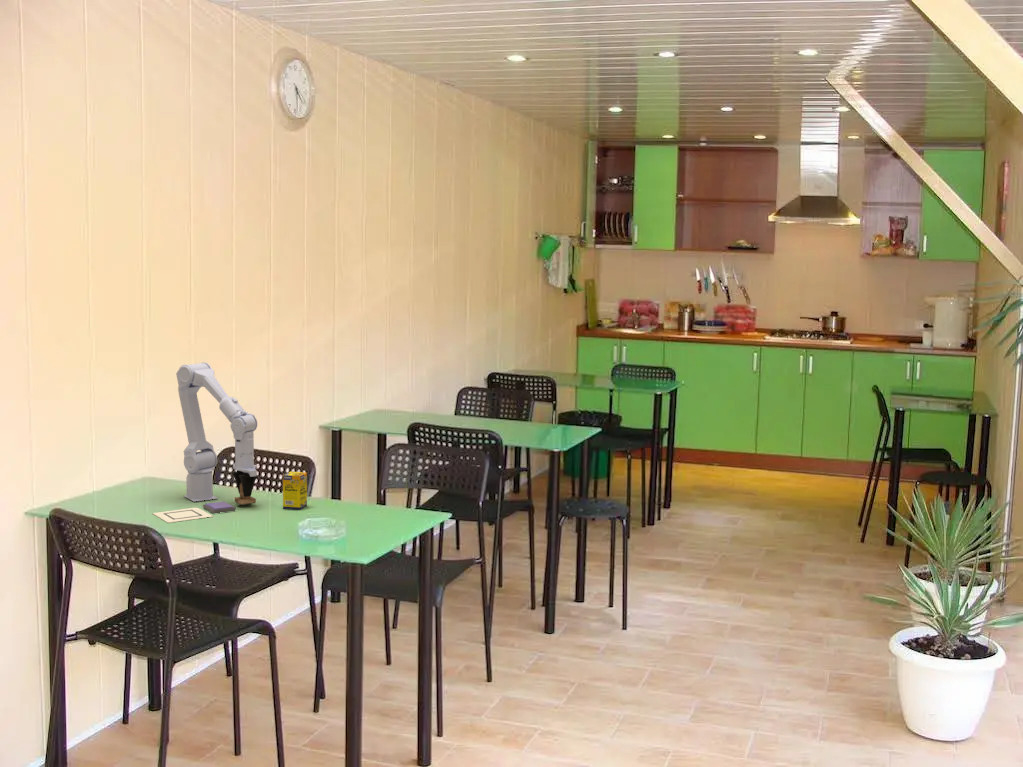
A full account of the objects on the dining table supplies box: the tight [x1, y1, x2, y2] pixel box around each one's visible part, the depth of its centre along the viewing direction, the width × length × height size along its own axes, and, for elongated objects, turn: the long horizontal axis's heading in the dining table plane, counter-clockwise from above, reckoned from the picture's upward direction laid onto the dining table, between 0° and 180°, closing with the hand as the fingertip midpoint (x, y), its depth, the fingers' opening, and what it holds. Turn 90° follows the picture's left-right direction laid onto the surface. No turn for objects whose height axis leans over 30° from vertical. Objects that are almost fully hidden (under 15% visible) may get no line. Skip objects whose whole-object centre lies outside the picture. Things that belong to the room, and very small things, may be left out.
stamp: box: [234, 483, 257, 506], centre depth 361 cm, size 5×5×7 cm
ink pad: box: [202, 500, 237, 514], centre depth 355 cm, size 9×7×2 cm
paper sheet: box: [152, 507, 214, 524], centre depth 348 cm, size 14×14×1 cm
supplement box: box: [282, 471, 308, 511], centre depth 359 cm, size 6×6×11 cm
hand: (245, 495), depth 361 cm, fingers closed on stamp, 3 cm apart
